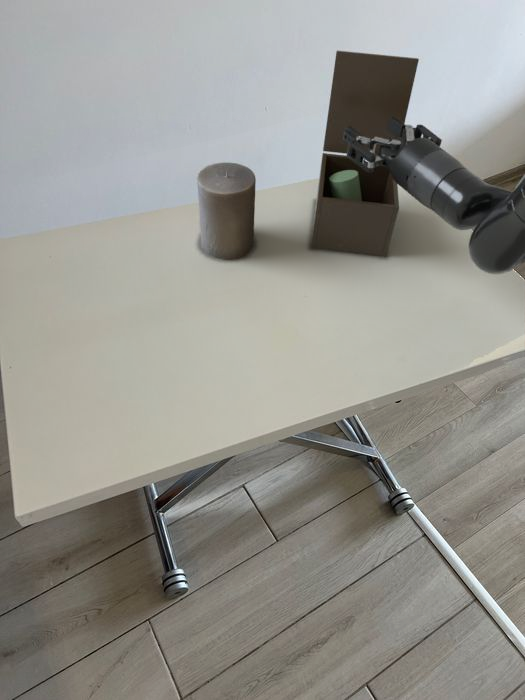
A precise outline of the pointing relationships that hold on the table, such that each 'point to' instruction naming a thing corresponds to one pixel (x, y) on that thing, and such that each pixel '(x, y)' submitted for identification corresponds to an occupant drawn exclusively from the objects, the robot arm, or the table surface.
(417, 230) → the table surface
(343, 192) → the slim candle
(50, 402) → the table surface
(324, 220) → the brown hinged box
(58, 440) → the table surface
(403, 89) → the brown box lid
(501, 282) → the table surface
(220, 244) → the pillar candle
